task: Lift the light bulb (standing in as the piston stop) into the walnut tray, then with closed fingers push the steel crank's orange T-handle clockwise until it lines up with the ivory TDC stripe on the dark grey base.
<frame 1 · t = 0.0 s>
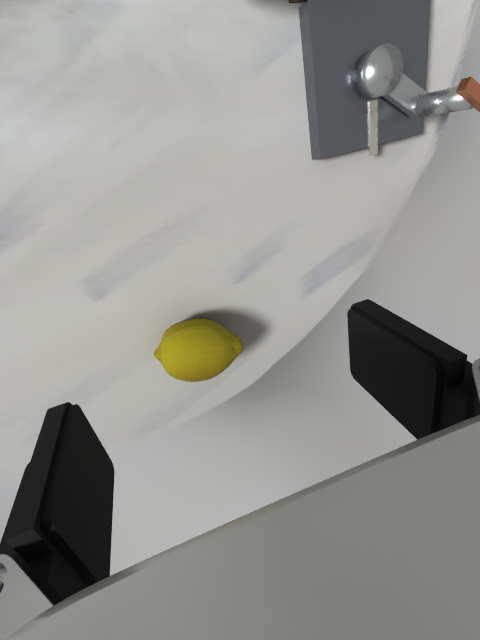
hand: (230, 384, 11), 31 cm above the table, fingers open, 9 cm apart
crank base: (361, 78, 38), on the table
crank: (423, 83, 34), point 6 cm above the table, hinge at 55.0°
lemon: (192, 335, 45), on the table
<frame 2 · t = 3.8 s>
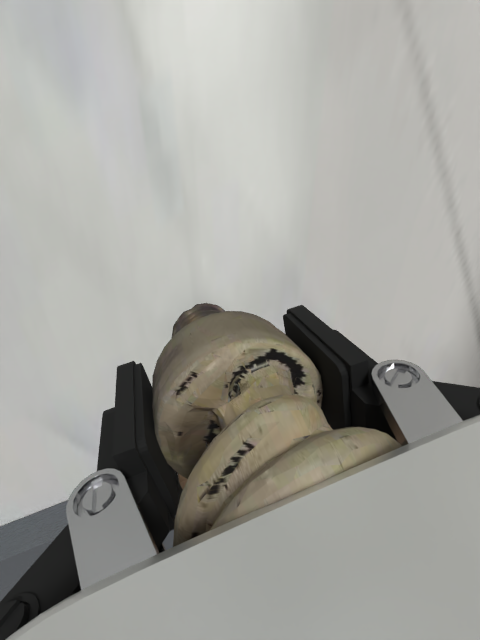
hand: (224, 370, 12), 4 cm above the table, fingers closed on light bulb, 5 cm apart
crank base: (96, 574, 21), on the table
light bulb: (200, 316, 16), on the table, touching gripper
when the fingers open (7 cm above the table, at t = 9.1 s): light bulb drops 1 cm, resting on tray.
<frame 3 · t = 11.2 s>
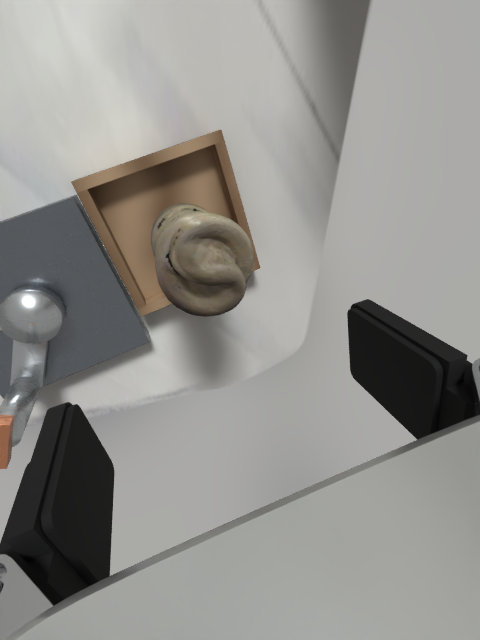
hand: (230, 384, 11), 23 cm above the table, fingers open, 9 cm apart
crank base: (41, 300, 30), on the table
crank: (18, 371, 25), point 6 cm above the table, hinge at 55.0°
light bulb: (177, 223, 30), point 1 cm above the table, touching tray
tray: (174, 225, 30), on the table
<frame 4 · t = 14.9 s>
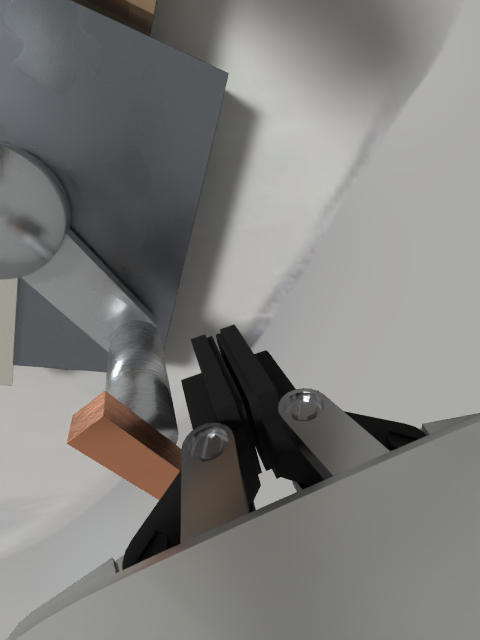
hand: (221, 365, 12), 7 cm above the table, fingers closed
crank base: (21, 200, 14), on the table
crank: (60, 314, 11), point 6 cm above the table, hinge at 50.7°, touching gripper
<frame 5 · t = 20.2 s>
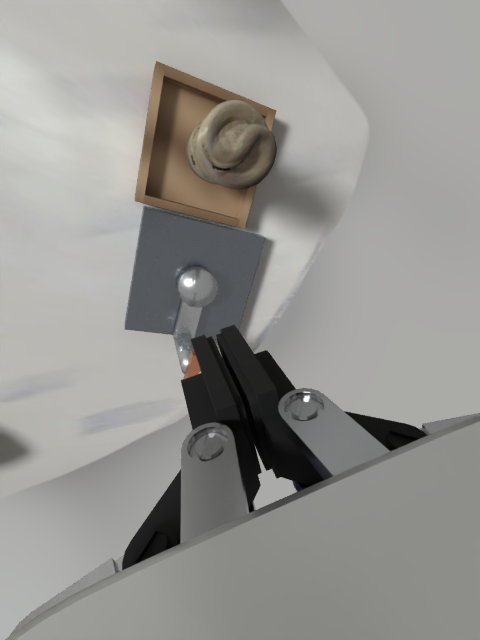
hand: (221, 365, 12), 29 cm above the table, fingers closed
crank base: (192, 278, 41), on the table
crank: (194, 324, 36), point 6 cm above the table, hinge at -1.2°
light bulb: (201, 152, 35), point 1 cm above the table, touching tray
tray: (201, 156, 35), on the table
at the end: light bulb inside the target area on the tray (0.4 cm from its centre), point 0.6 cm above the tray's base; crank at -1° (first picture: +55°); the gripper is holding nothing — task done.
